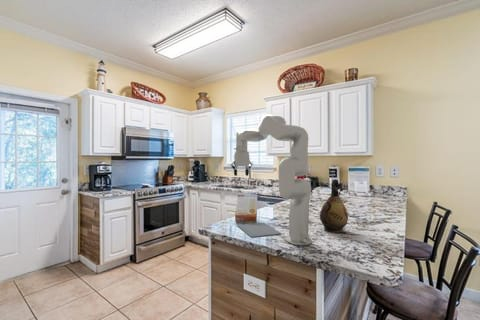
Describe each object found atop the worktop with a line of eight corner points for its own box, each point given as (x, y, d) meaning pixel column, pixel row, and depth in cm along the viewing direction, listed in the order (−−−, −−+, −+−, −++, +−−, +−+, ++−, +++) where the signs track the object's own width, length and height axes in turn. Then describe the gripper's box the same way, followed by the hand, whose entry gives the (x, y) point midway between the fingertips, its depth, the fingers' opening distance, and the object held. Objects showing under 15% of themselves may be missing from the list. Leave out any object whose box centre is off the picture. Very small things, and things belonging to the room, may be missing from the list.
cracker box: (256, 223, 153) (257, 199, 170) (256, 216, 149) (257, 193, 166) (235, 222, 154) (238, 199, 171) (234, 215, 151) (238, 193, 168)
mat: (281, 234, 130) (281, 233, 130) (251, 237, 124) (251, 236, 124) (263, 223, 151) (263, 222, 151) (237, 225, 144) (237, 224, 144)
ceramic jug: (350, 235, 130) (352, 181, 130) (321, 233, 133) (322, 180, 133) (343, 226, 147) (344, 178, 146) (317, 224, 150) (318, 177, 150)
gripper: (231, 148, 152) (230, 176, 152) (255, 149, 158) (255, 175, 158) (227, 149, 159) (227, 175, 159) (251, 149, 165) (251, 175, 165)
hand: (241, 175), depth 159 cm, fingers open, 7 cm apart
